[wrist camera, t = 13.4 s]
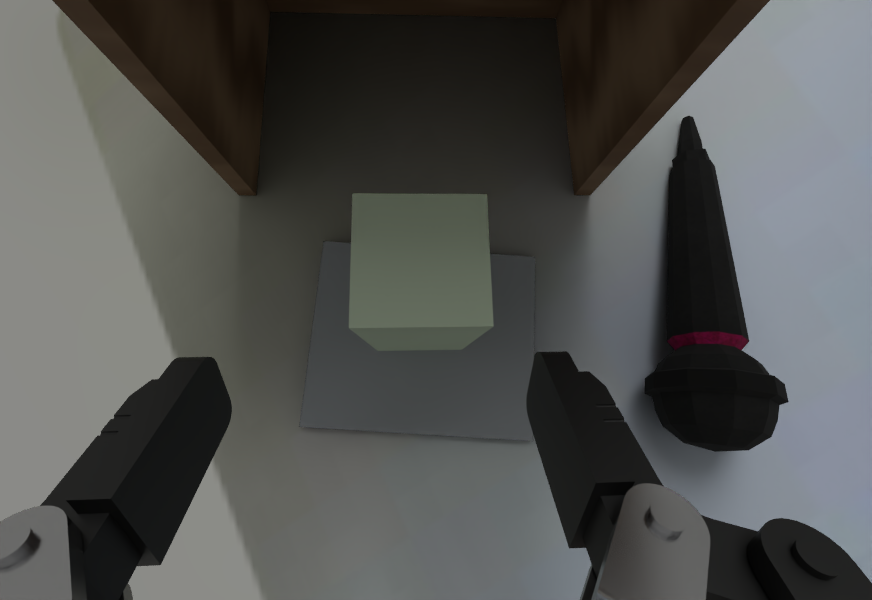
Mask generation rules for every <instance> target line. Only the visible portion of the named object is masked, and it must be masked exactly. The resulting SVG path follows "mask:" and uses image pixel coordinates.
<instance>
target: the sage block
mask: <svg viewBox="0 0 872 600" xmlns="http://www.w3.org/2000/svg"><path fill="white" fill-rule="evenodd" d="M493 326H494V325H493V305H492V284H491V264H490V244H489V223H488V203H487V194H383V193H352V226H351V263H350V300H349V329H350V330H352V331H353V332H354V333H356V334H357V335H358V336H359V337H361V338H362V339H363V340H364V341H366V342H367V343H368V344H370V345H371V346H372V347H373V348H375V349H376V350H377V351H410V350H462V349H464V348H465V347H466V346H468V345H469V344H470V343H472V342H473V341H474V340H476V339H477V338H479V337H480V336H481V335H483V334H484V333H485V332H487V331H488V330H489V329H491V328H492V327H493Z"/></svg>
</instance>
